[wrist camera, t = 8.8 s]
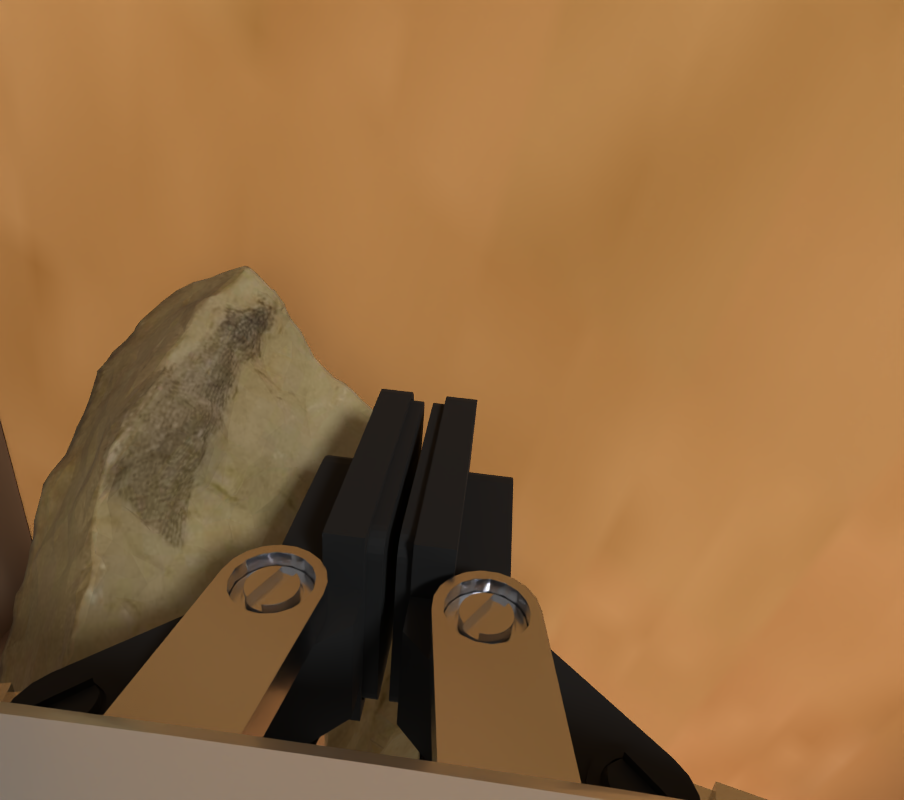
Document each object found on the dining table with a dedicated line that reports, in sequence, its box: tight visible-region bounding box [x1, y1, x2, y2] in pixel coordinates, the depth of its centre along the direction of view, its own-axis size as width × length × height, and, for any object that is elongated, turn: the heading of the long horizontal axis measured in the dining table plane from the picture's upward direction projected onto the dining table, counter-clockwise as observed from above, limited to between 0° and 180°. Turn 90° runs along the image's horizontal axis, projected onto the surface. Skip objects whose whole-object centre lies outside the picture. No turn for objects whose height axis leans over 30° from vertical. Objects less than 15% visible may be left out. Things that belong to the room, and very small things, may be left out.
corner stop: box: [0, 423, 32, 662], centre depth 13 cm, size 12×16×4 cm
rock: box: [0, 266, 418, 759], centre depth 12 cm, size 11×9×10 cm
